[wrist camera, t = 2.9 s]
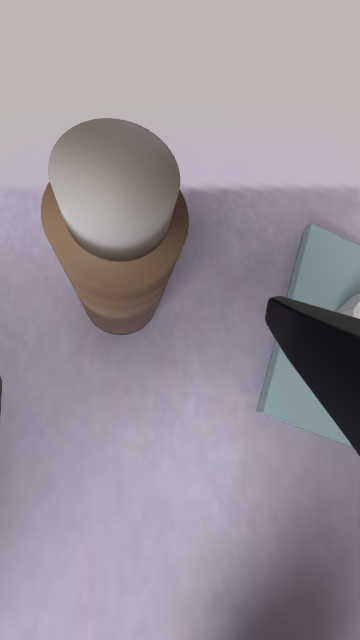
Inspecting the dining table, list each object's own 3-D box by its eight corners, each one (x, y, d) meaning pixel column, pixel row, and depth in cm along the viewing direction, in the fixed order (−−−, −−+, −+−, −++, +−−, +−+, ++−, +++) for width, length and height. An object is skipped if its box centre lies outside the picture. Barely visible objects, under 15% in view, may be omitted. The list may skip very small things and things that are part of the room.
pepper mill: (141, 345, 20) (169, 284, 8) (72, 319, 20) (-18, 207, 7) (165, 283, 21) (224, 144, 9) (102, 257, 21) (69, 71, 8)
